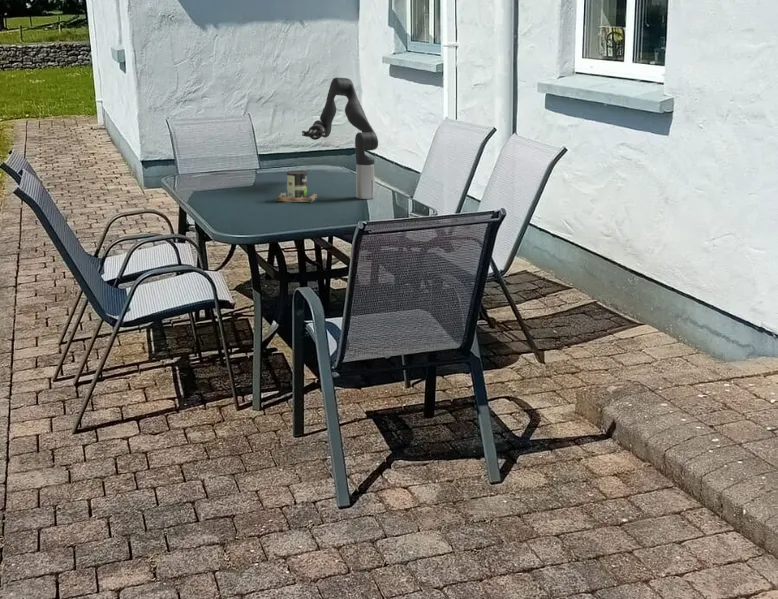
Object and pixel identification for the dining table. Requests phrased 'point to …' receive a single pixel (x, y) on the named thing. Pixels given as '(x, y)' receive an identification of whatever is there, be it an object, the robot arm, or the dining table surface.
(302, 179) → the coffee can
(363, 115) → the robot arm
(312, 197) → the dock bay
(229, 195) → the dining table surface
